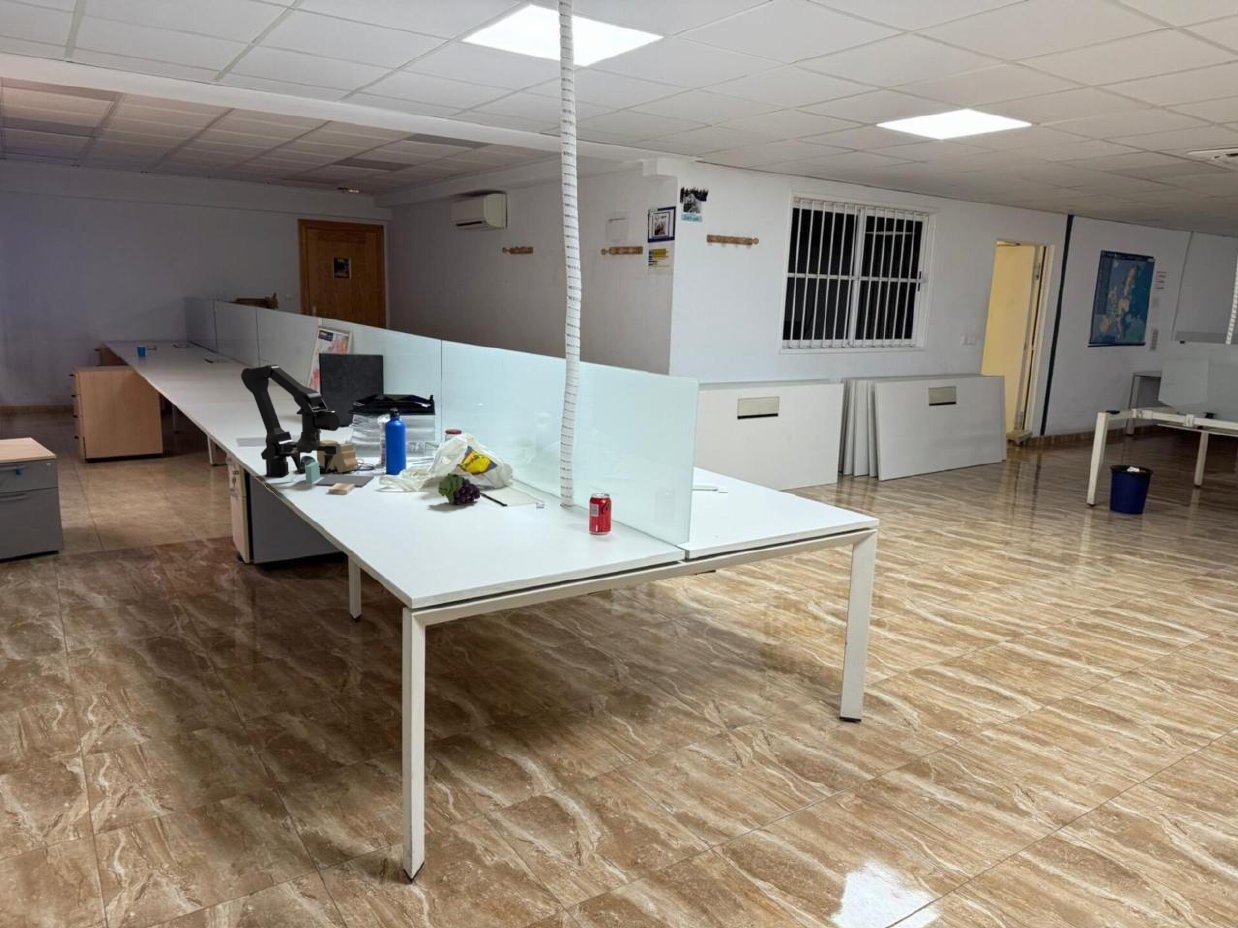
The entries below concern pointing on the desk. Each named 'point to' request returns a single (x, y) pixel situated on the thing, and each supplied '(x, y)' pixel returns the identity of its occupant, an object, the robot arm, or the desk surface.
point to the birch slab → (341, 488)
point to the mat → (345, 480)
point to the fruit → (458, 489)
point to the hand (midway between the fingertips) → (312, 472)
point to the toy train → (339, 457)
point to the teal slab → (312, 472)
